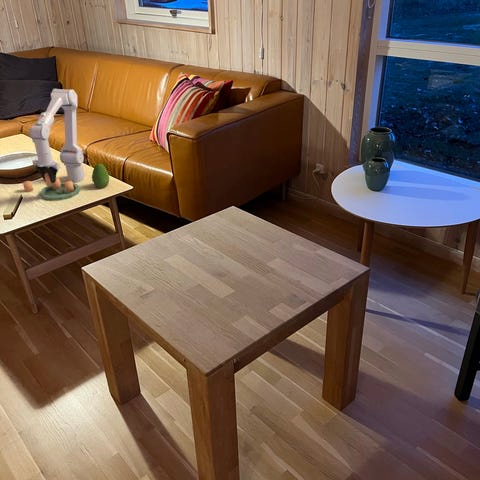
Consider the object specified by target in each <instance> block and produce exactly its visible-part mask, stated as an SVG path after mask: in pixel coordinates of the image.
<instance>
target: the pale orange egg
mask: <svg viewBox="0 0 480 480" xmlns="http://www.w3.org/2000/svg"><path fill="white" fill-rule="evenodd" d="M44 176H45V180H46V182H45V184H46V187H47V186H53V185H55V182H54V183H51V181H50V177H49V175H48V173H46V174H44Z"/></svg>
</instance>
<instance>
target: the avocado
mask: <svg viewBox="0 0 480 480" xmlns="http://www.w3.org/2000/svg"><path fill="white" fill-rule="evenodd" d="M109 174H110V173H109V172H108V171H107V168H106V167H105V165H104V164H103V163H97V164H96V165H94V168H93V171H92V174H91V180H92V182H93V184H94V186H95V187H97V188H99V189H103V188H106V187H107V186H109V183H110V175H109Z"/></svg>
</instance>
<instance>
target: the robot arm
mask: <svg viewBox="0 0 480 480" xmlns="http://www.w3.org/2000/svg"><path fill="white" fill-rule="evenodd" d="M50 99H51V100H50V102H49V104H48V106H47V108H46V110H45V111H44V112H41V113H40V115H39V117H38V118H37V120H36V122H35V124H33V125H32V126H30V127H29V128H28V129H29V130H28V135H29V138H30V139H31V140H32V142H33V144H34V147H35V148H34V149H35V152H36V155H37V159H36V158H35V159H33V160H31V163H32V165H34V166H36V167H35V170H37V172H38V173H39V175H40V176H41V178H42V180H43V181H44V182H45V183H46V180H45V176H44V174H46V173H48V175H49V177H50V181H51V183H54V182H56V178H57V175H58V172H57V170H58V171H59V169H61V164H63V166H65V171H66V174H67V175H66V176H67V179H68V180H67V181H72V182H73V183H74V184H78V183H81V182H83V181H84V177H85V172H84V166H83V163H84V160H85V159H84V158H85V156H84V154H83V149H82V147H80V146H79V145H78V139H77V138H78V137H77V136H78V133H77V127H78V125H77V109H78V94H77V92H75V89H64V88H63V89H60V88H53V89H52V91H51V93H50ZM60 108H62V109H63V111H64V143H65V144H64V145H63V146H61V147H60V154H59V159H60V162H61V164H60V163H59V162H56V161H54V160H53V156H52V152H51V148H50V142H49V137H50V133H51V132H50V131H51V127H52V126H53V124H54V122H55V117H54V116H55V115H56V113H57V112H58V110H59V109H60ZM52 160H53V161H52ZM48 167H49V168H48Z"/></svg>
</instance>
